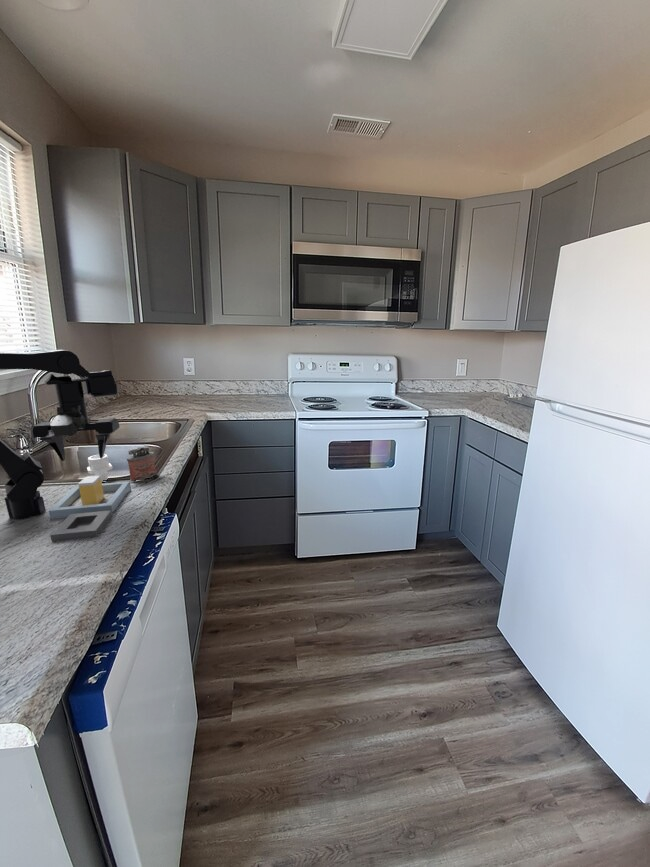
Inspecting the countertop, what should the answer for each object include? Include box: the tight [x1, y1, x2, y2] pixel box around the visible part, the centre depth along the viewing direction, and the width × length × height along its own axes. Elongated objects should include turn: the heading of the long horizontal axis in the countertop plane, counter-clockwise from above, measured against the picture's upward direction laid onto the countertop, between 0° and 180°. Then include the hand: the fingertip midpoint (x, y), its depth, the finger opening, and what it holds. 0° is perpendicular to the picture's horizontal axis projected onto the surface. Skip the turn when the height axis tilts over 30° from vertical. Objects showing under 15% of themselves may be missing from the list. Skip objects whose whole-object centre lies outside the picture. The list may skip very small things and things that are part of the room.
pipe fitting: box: [86, 453, 113, 481], centre depth 121 cm, size 6×7×8 cm
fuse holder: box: [50, 510, 113, 542], centre depth 91 cm, size 9×10×2 cm
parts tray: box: [48, 480, 132, 519], centre depth 105 cm, size 14×16×3 cm
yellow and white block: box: [77, 475, 105, 505], centre depth 104 cm, size 4×5×6 cm
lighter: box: [126, 446, 157, 481], centre depth 122 cm, size 8×3×10 cm, turn 141°
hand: (82, 459), depth 104 cm, fingers open, 9 cm apart
